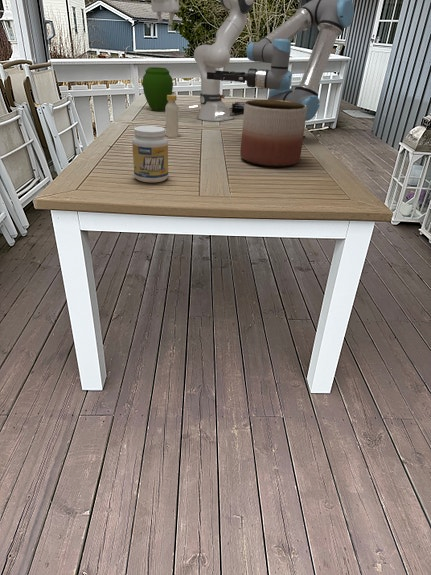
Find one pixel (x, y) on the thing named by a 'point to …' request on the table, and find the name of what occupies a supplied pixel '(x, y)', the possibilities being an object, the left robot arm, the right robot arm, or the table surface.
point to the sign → (238, 107)
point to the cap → (171, 97)
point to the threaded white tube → (171, 119)
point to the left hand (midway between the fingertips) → (165, 23)
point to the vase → (157, 87)
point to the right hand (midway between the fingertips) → (211, 74)
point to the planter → (272, 132)
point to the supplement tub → (150, 154)
